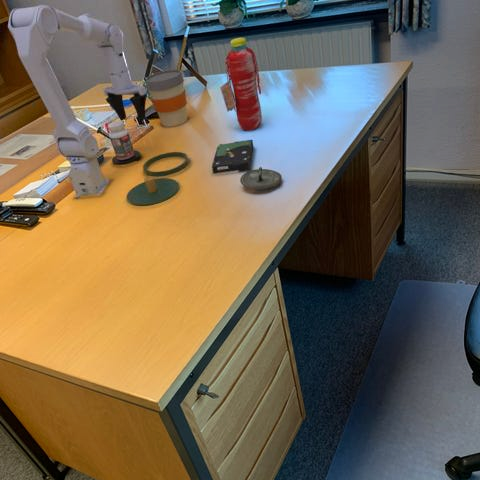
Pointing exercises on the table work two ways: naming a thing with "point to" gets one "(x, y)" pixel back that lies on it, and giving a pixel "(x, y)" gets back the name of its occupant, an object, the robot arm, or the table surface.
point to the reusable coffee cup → (168, 96)
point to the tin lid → (152, 191)
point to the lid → (261, 179)
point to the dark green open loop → (167, 172)
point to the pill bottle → (120, 140)
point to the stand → (123, 162)
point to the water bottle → (242, 85)
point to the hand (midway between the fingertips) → (133, 119)
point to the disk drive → (233, 157)
